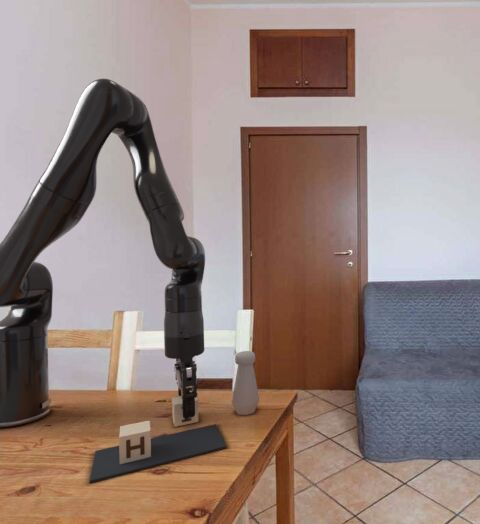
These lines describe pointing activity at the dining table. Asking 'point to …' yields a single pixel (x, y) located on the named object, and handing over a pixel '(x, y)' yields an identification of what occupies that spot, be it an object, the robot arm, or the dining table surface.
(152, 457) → the word mat
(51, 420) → the dining table surface
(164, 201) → the robot arm
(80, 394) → the dining table surface
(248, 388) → the salt shaker
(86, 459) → the dining table surface
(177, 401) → the beige cube block
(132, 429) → the beige rounded cube
